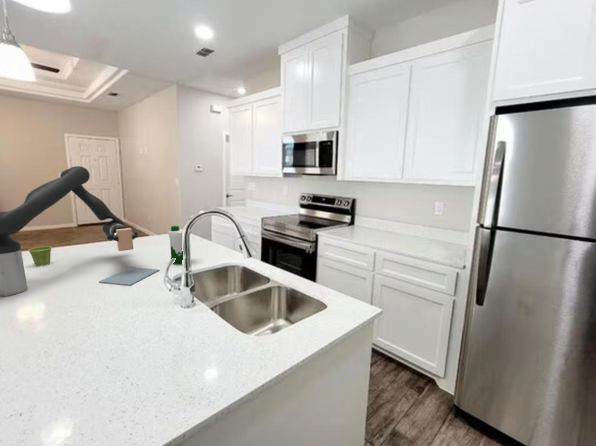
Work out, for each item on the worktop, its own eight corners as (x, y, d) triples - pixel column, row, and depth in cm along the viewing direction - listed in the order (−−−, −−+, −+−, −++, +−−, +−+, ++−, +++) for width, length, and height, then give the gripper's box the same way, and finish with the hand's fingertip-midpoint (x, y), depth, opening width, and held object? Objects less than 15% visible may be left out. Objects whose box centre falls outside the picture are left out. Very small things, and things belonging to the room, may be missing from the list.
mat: (130, 285, 131) (130, 284, 130) (98, 282, 133) (98, 281, 133) (159, 270, 150) (159, 269, 150) (131, 268, 153) (131, 267, 153)
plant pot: (43, 267, 151) (41, 251, 150) (25, 267, 151) (23, 250, 150) (58, 261, 160) (56, 246, 159) (41, 261, 161) (39, 245, 159)
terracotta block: (117, 249, 144) (116, 229, 142) (131, 247, 148) (130, 227, 146) (119, 251, 141) (117, 230, 139) (133, 249, 145) (131, 229, 143)
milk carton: (178, 259, 168) (175, 224, 164) (192, 260, 166) (190, 225, 162) (168, 264, 159) (165, 227, 156) (183, 265, 158) (181, 228, 154)
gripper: (102, 226, 149) (107, 232, 136) (134, 223, 158) (141, 228, 145) (103, 241, 150) (108, 248, 138) (135, 237, 159) (142, 243, 147)
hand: (125, 238), depth 142 cm, fingers closed on terracotta block, 6 cm apart
